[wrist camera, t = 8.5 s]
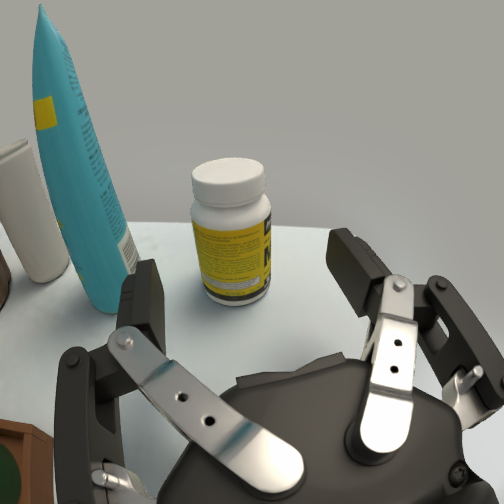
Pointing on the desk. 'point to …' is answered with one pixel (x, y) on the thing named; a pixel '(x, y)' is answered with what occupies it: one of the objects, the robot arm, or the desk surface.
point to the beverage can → (29, 215)
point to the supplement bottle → (232, 229)
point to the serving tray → (30, 460)
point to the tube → (78, 174)
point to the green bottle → (9, 478)
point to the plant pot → (3, 279)
